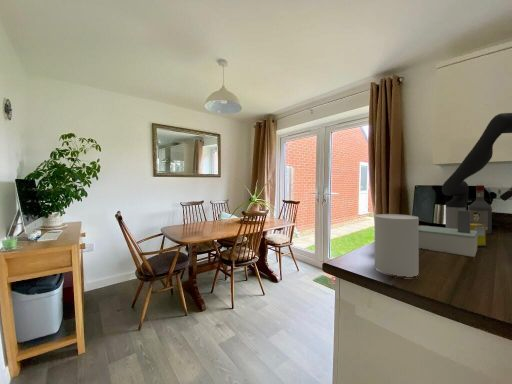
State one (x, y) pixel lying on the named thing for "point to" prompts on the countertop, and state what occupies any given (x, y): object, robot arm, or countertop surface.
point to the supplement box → (479, 233)
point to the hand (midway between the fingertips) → (501, 198)
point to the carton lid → (461, 231)
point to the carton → (448, 243)
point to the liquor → (481, 210)
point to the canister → (397, 244)
